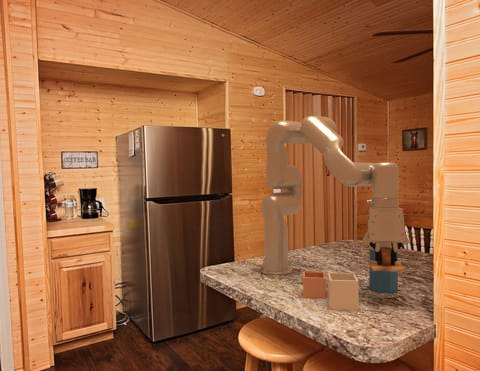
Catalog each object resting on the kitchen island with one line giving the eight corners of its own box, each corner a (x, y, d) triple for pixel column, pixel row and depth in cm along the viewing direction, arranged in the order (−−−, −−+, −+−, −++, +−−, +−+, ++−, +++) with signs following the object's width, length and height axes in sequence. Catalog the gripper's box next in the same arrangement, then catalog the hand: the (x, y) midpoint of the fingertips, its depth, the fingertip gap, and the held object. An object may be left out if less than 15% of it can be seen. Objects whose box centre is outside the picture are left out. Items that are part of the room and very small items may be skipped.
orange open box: (303, 299, 115) (303, 277, 115) (303, 292, 122) (303, 271, 122) (326, 300, 114) (325, 278, 114) (324, 293, 121) (324, 272, 121)
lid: (373, 270, 107) (372, 251, 107) (367, 263, 116) (367, 244, 116) (405, 271, 106) (405, 251, 106) (397, 263, 115) (397, 245, 114)
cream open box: (329, 311, 106) (329, 280, 105) (327, 301, 114) (327, 272, 113) (358, 312, 104) (358, 281, 104) (354, 302, 112) (354, 273, 112)
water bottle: (374, 283, 130) (374, 213, 129) (401, 289, 124) (402, 215, 123) (364, 290, 123) (364, 216, 121) (393, 296, 117) (393, 218, 116)
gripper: (358, 204, 108) (359, 266, 109) (418, 204, 105) (418, 267, 106) (355, 202, 115) (355, 260, 116) (410, 202, 113) (411, 261, 113)
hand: (385, 263), depth 111 cm, fingers closed on lid, 3 cm apart
